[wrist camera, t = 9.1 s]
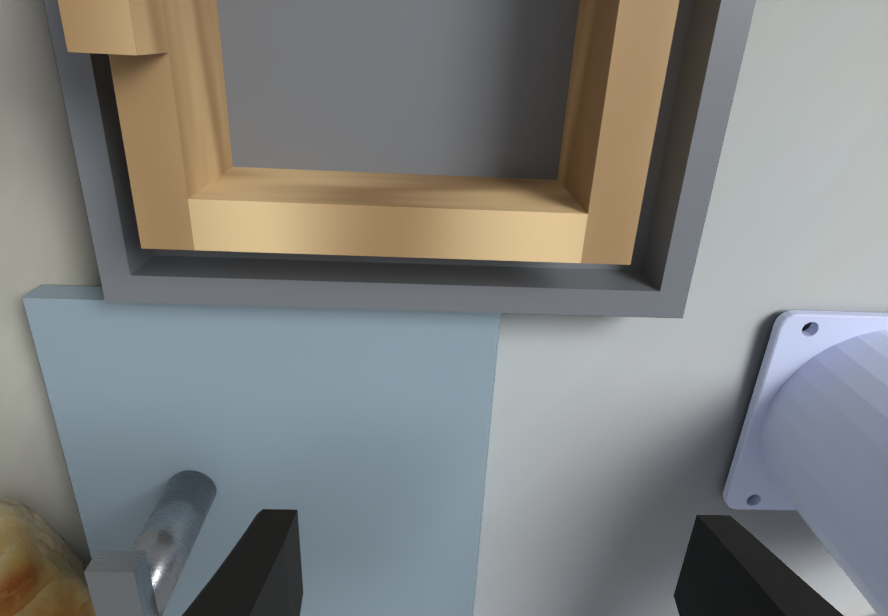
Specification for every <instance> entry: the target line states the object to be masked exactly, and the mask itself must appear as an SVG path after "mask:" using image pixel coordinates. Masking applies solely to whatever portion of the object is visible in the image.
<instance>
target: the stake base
mask: <svg viewBox="0 0 888 616" xmlns="http://www.w3.org/2000/svg"><path fill="white" fill-rule="evenodd" d="M22 299H23V302H24V306H25V310H26V314H27V317H28V321H29V325H30V329H31V332H32V336H33V340H34V344H35V348H36V351H37V355H38V359H39V363H40V366H41V370H42V374H43V378H44V381H45V385H46V389H47V393H48V397H49V400H50V404H51V408H52V412H53V415H54V419H55V423H56V427H57V430H58V434H59V438H60V442H61V445H62V449H63V453H64V457H65V461H66V464H67V468H68V472H69V476H70V479H71V483H72V487H73V491H74V494H75V498H76V502H77V506H78V510H79V513H80V517H81V521H82V525H83V528H84V532H85V536H86V540H87V543H88V547H89V551H90V555H91V559H93V557H94V555H95V554H96V552H97V551H98V550H131V548H132V547H133V545H134V543H135V541H136V540H137V538H138V536H139V534H140V532H141V531H142V529H143V527H144V525H145V524H146V522H147V520H148V518H149V516H150V515H151V513H152V511H153V509H154V508H155V506H156V504H157V502H158V501H159V499H160V497H161V495H162V493H163V492H164V490H165V488H166V486H167V485H168V483H169V481H170V479H171V478H172V477H173V476H174V475H175V474H176V473H178V472H181V471H186V470H193V471H198V472H201V473H203V474H205V475H207V476H208V477H209V478H211V479H212V481H213V482H214V483H215V486H216V489H217V493H216V497H215V499H214V501H213V504H212V506H211V508H210V510H209V512H208V515H207V517H206V519H205V521H204V524H203V526H202V528H201V530H200V533H199V535H198V537H197V539H196V542H195V544H194V546H193V548H192V551H191V553H190V555H189V557H188V559H187V562H186V564H185V566H184V568H183V571H182V573H181V575H180V577H179V580H178V582H177V584H176V586H175V589H174V591H173V593H172V595H171V598H170V600H169V602H168V604H167V606H166V609H165V611H164V613H163V615H162V616H182V615H183V613H184V612H185V611H186V610H187V608H188V607H189V606H190V605H191V603H192V602H193V601H194V600H195V598H196V597H197V596H198V594H199V593H200V592H201V591H202V589H203V588H204V587H205V585H206V584H207V583H208V582H209V580H210V579H211V578H212V577H213V575H214V574H215V573H216V571H217V570H218V569H219V567H220V566H221V565H222V563H223V562H224V560H225V559H226V558H227V556H228V555H229V554H230V552H231V551H232V549H233V548H234V547H235V545H236V544H237V542H238V541H239V540H240V538H241V537H242V535H243V534H244V532H245V531H246V529H247V528H248V527H249V525H250V524H251V522H252V521H253V519H254V517H255V516H256V514H257V513H259V512H260V511H261V510H262V509H291V510H298V524H299V538H300V552H301V567H302V581H303V598H302V605H301V611H300V616H473V607H474V596H475V586H476V575H477V564H478V553H479V543H480V532H481V521H482V510H483V500H484V489H485V478H486V467H487V457H488V446H489V435H490V424H491V414H492V403H493V392H494V381H495V370H496V360H497V349H498V338H499V327H500V317H501V313H477V312H442V311H406V310H371V309H336V308H301V307H265V306H230V305H195V304H159V303H124V302H105V299H104V294H103V289H102V287H101V286H67V285H41V286H39V287H38V288H36V289H35V290H33V291H32V292H30V293H29V294H27V295H26V296H24V297H23V298H22Z"/></svg>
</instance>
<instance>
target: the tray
mask: <svg viewBox="0 0 888 616" xmlns="http://www.w3.org/2000/svg"><path fill="white" fill-rule="evenodd" d="M579 2H580V0H217V8H218V18H219V29H220V39H221V49H222V60H223V70H224V80H225V90H226V101H227V111H228V121H229V131H230V142H231V152H232V162H233V167H249V168H274V169H299V170H324V171H349V172H374V173H399V174H424V175H449V176H474V177H499V178H524V179H549V180H557V179H558V171H559V163H560V155H561V147H562V138H563V130H564V122H565V114H566V106H567V98H568V90H569V82H570V74H571V66H572V58H573V50H574V42H575V34H576V26H577V18H578V10H579ZM755 2H756V0H679V6H678V11H677V16H676V22H675V27H674V32H673V38H672V43H671V49H670V54H669V59H668V65H667V70H666V76H665V81H664V86H663V92H662V97H661V103H660V108H659V113H658V119H657V124H656V130H655V135H654V140H653V146H652V151H651V157H650V162H649V167H648V173H647V178H646V184H645V189H644V194H643V200H642V205H641V211H640V216H639V221H638V227H637V232H636V237H635V243H634V248H633V254H632V259H631V264H630V265H619V264H589V263H559V262H529V261H499V260H470V259H440V258H410V257H380V256H350V255H321V254H291V253H261V252H231V251H201V250H171V249H142V248H141V244H140V238H139V232H138V226H137V220H136V214H135V208H134V202H133V197H132V191H131V185H130V179H129V173H128V167H127V161H126V155H125V149H124V143H123V137H122V131H121V126H120V120H119V114H118V108H117V102H116V96H115V90H114V84H113V78H112V72H111V66H110V60H109V55H108V54H97V53H76V52H68V51H67V46H66V40H65V35H64V30H63V25H62V20H61V15H60V10H59V4H58V0H44V5H45V10H46V15H47V20H48V25H49V30H50V35H51V40H52V44H53V49H54V54H55V59H56V64H57V69H58V74H59V79H60V84H61V89H62V93H63V98H64V103H65V108H66V113H67V118H68V123H69V128H70V133H71V137H72V142H73V147H74V152H75V157H76V162H77V167H78V172H79V177H80V182H81V186H82V191H83V196H84V201H85V206H86V211H87V216H88V221H89V226H90V231H91V235H92V240H93V245H94V250H95V255H96V260H97V265H98V270H99V275H100V279H101V284H102V289H103V294H104V299H105V302H124V303H159V304H195V305H230V306H265V307H301V308H336V309H371V310H406V311H442V312H477V313H512V314H548V315H583V316H618V317H653V318H683V314H684V309H685V305H686V301H687V296H688V292H689V288H690V283H691V279H692V275H693V270H694V266H695V262H696V257H697V253H698V249H699V244H700V240H701V236H702V231H703V227H704V223H705V218H706V214H707V210H708V206H709V201H710V197H711V193H712V188H713V184H714V180H715V175H716V171H717V167H718V162H719V158H720V154H721V149H722V145H723V141H724V136H725V132H726V128H727V123H728V119H729V115H730V110H731V106H732V102H733V97H734V93H735V89H736V84H737V80H738V76H739V71H740V67H741V63H742V58H743V54H744V50H745V45H746V41H747V37H748V32H749V28H750V24H751V19H752V15H753V11H754V6H755Z"/></svg>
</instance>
